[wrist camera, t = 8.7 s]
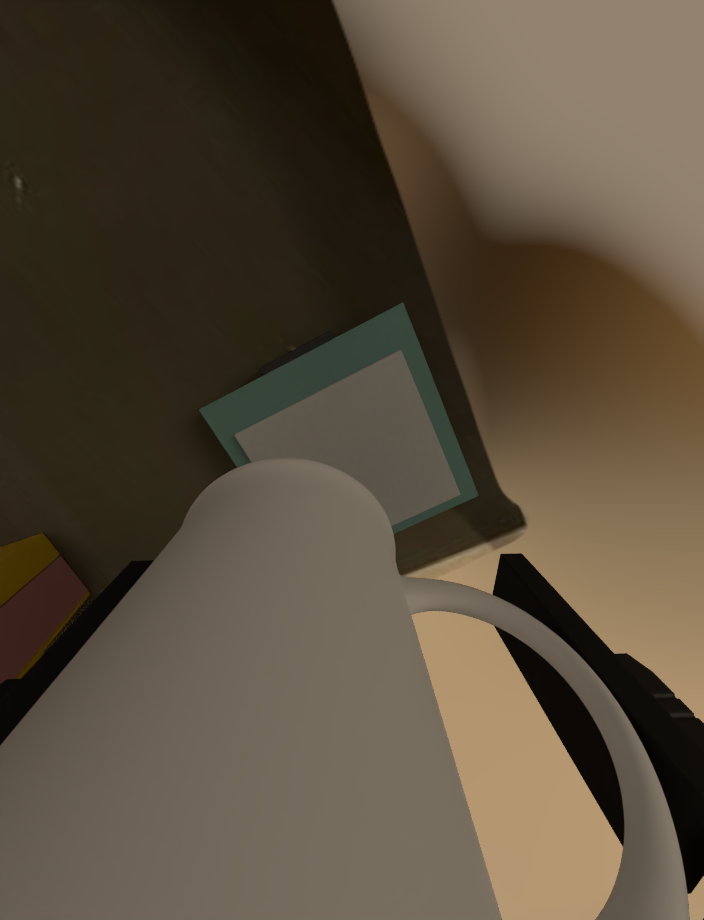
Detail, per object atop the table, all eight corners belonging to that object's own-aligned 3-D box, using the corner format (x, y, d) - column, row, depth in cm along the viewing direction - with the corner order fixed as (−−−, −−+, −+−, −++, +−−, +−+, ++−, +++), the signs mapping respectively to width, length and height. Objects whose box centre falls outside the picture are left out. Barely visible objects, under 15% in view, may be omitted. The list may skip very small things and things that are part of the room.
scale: (393, 298, 25) (401, 292, 22) (467, 483, 31) (481, 498, 28) (206, 397, 27) (190, 403, 24) (308, 556, 32) (306, 577, 29)
